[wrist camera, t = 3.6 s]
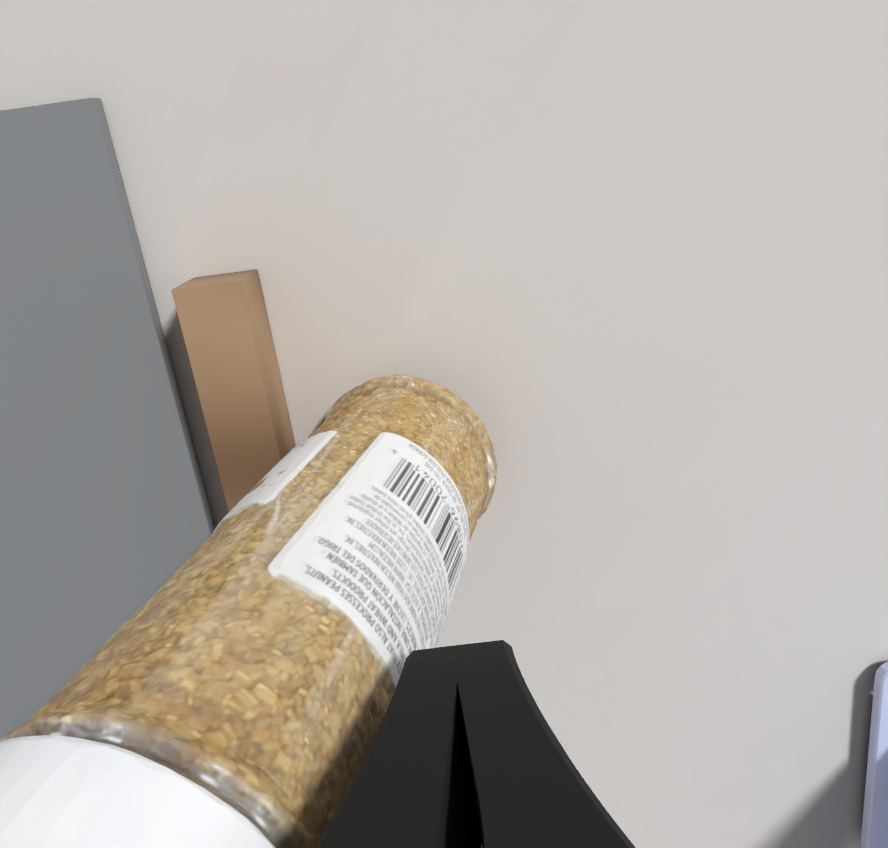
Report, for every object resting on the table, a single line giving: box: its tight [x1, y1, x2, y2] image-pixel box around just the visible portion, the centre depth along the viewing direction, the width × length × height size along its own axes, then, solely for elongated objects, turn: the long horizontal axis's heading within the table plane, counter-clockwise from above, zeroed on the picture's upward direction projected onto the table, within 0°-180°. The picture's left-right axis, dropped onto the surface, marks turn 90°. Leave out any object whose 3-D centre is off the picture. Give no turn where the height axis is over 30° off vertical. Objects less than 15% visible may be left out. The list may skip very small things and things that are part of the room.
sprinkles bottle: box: [0, 375, 497, 848], centre depth 12 cm, size 5×5×14 cm
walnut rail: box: [172, 270, 296, 512], centre depth 18 cm, size 10×2×2 cm, turn 7°
